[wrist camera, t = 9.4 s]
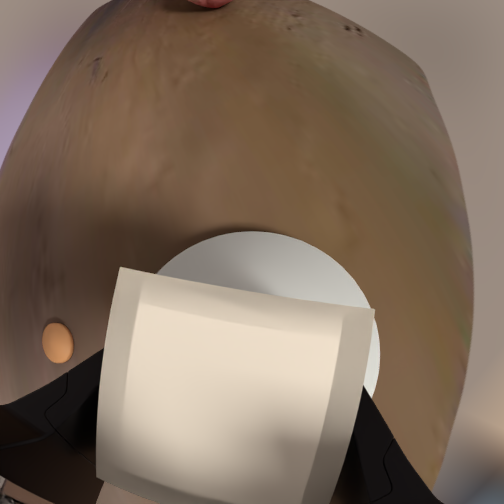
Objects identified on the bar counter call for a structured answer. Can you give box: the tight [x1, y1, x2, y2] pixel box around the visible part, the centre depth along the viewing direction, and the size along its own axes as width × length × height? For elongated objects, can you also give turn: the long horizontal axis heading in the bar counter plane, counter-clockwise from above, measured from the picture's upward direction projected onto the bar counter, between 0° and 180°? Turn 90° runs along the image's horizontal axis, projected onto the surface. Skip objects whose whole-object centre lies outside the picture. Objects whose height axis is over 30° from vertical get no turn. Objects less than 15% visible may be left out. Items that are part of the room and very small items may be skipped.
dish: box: [157, 231, 380, 398], centre depth 17 cm, size 16×16×2 cm
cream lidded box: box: [96, 267, 375, 504], centre depth 10 cm, size 6×6×10 cm
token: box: [42, 323, 74, 363], centre depth 18 cm, size 3×3×1 cm
